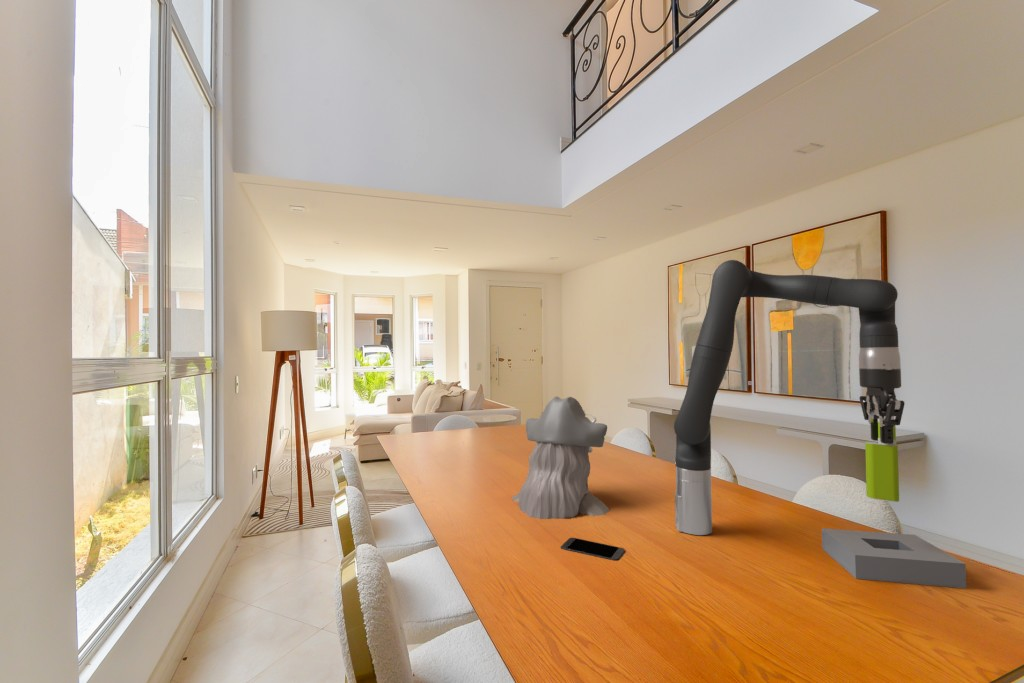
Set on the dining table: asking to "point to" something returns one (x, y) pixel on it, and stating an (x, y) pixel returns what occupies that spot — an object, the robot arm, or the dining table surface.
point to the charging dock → (893, 558)
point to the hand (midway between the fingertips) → (882, 441)
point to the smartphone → (593, 549)
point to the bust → (561, 463)
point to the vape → (882, 469)
